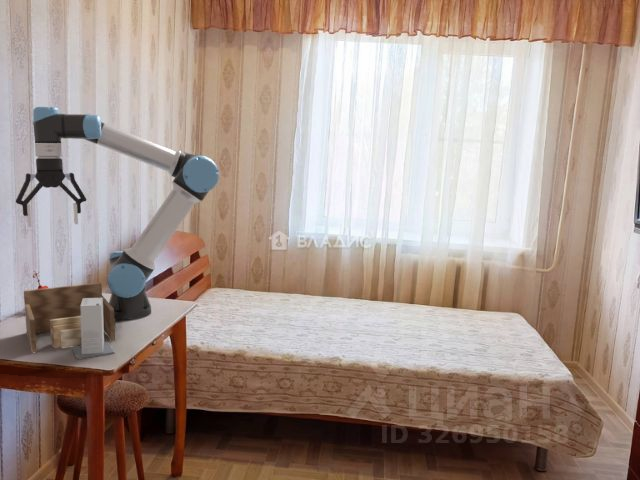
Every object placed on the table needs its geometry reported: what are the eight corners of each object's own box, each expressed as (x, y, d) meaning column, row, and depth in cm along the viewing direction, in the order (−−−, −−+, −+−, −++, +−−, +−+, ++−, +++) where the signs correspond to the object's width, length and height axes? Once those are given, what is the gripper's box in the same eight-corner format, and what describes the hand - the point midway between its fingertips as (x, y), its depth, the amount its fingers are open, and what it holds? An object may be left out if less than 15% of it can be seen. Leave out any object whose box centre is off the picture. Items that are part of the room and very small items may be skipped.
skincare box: (84, 345, 176) (81, 297, 174) (105, 344, 178) (103, 296, 175) (81, 355, 168) (78, 305, 166) (104, 353, 170) (101, 303, 168)
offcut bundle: (93, 338, 184) (91, 314, 183) (95, 343, 180) (94, 317, 179) (51, 345, 178) (49, 319, 177) (53, 349, 174) (51, 323, 173)
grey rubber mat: (107, 343, 180) (107, 341, 180) (114, 353, 171) (114, 351, 171) (72, 348, 175) (72, 347, 175) (77, 359, 166) (77, 357, 166)
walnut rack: (102, 322, 200) (100, 282, 198) (115, 340, 183) (113, 296, 181) (26, 332, 189) (23, 290, 187) (32, 352, 171) (28, 306, 169)
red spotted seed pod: (49, 313, 210) (47, 272, 208) (30, 313, 210) (27, 272, 208) (58, 307, 218) (56, 268, 216) (39, 307, 218) (36, 268, 215)
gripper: (4, 158, 174) (9, 228, 177) (93, 157, 186) (96, 224, 190) (3, 157, 180) (8, 225, 184) (89, 157, 193) (92, 221, 196)
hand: (53, 225), depth 187 cm, fingers open, 13 cm apart
